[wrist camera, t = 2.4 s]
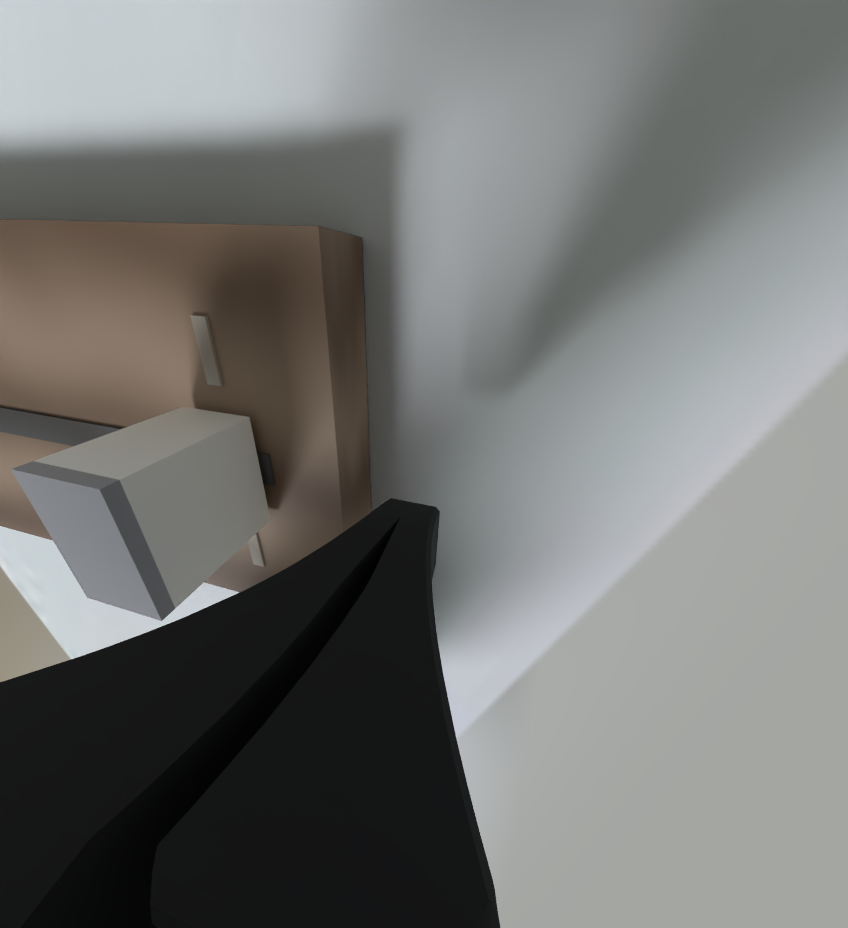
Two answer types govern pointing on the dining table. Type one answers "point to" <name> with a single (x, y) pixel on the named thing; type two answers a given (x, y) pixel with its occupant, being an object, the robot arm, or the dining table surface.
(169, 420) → the fader tab
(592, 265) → the dining table surface
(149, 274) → the slider board
